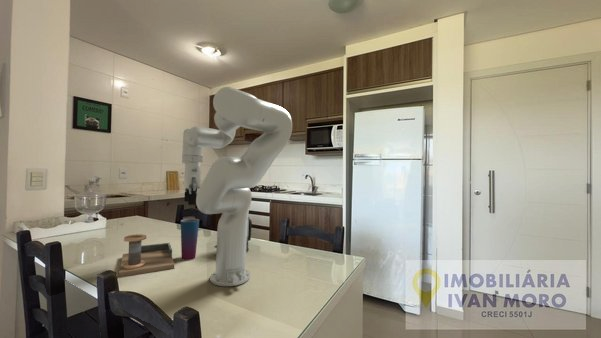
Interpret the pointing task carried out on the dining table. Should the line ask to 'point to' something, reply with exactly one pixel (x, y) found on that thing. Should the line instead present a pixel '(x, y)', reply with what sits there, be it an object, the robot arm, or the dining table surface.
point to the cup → (189, 238)
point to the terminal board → (145, 257)
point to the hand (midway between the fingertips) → (190, 202)
